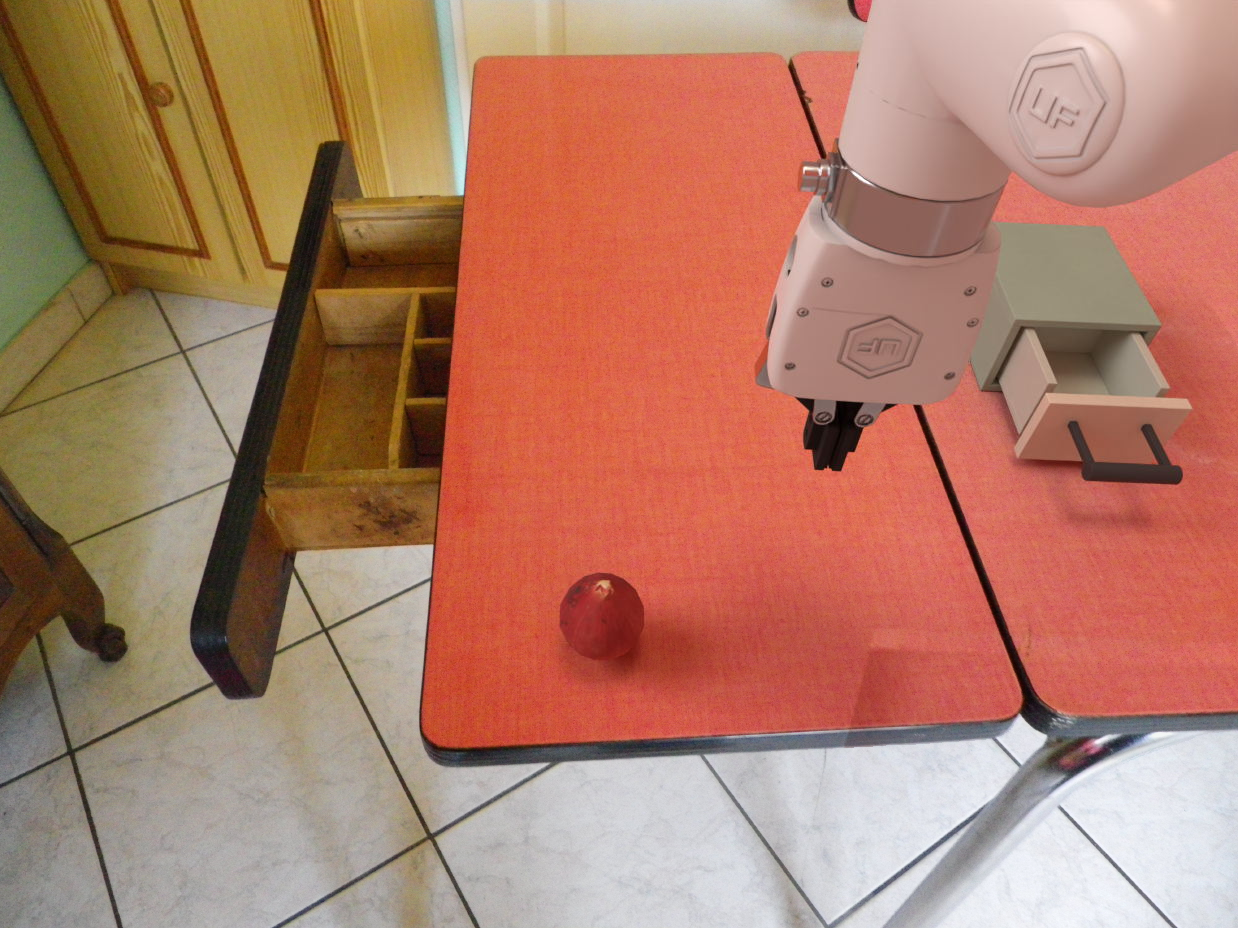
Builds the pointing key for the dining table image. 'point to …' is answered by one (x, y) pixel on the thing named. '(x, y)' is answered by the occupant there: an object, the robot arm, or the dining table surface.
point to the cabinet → (1057, 290)
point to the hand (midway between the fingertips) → (824, 453)
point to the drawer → (1092, 403)
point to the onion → (602, 616)
